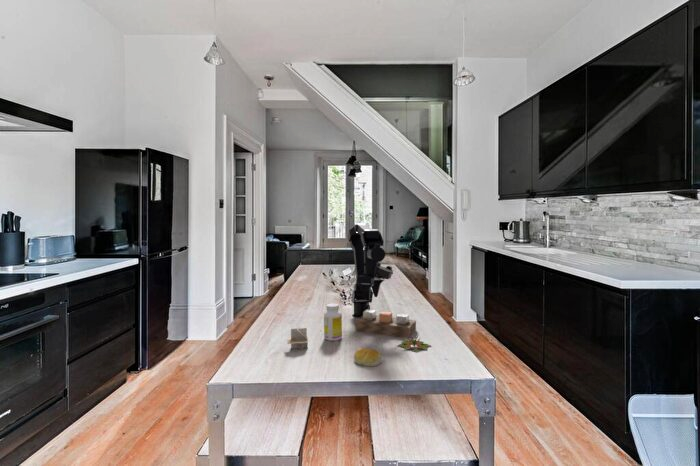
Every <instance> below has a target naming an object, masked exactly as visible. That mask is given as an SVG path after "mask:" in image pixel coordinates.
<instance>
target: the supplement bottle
mask: <svg viewBox="0 0 700 466" xmlns="http://www.w3.org/2000/svg"><path fill="white" fill-rule="evenodd" d="M325 308H326V311H324V313H323V333H324V334H323V336H324V339H325V340H326V341H330V342H331V341H332V342H336V341H339V340H341V339H342V337H343V333H342V331H343V329H342V328H343V322H342V320H343V319H342V317H343V316H342V311H340V310H339V308H340V305H339V304H338V303H328V304H326V307H325Z"/></svg>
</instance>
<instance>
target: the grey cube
mask: <svg viewBox="0 0 700 466" xmlns="http://www.w3.org/2000/svg"><path fill="white" fill-rule="evenodd" d="M376 315H377V310H376V309H375V310H374V309H370V310H368V309H367V310H365V311H364V312H363V319H364V320H372V321H373V320H374V319H376Z"/></svg>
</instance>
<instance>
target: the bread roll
mask: <svg viewBox="0 0 700 466" xmlns="http://www.w3.org/2000/svg"><path fill="white" fill-rule="evenodd" d="M353 355H354V356H353V359H354V362H355V363H356V364H357V365H360V366H365V367H377V366H378V365H379V364H381V363H382V361H383V356H382V353H381V352H379V351H378V350H376V349H369V348H366V347H365V348H360V349H358V350H356V351H355V353H354V354H353Z"/></svg>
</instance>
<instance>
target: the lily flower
mask: <svg viewBox="0 0 700 466" xmlns="http://www.w3.org/2000/svg"><path fill="white" fill-rule="evenodd" d="M408 336H409V335H408ZM412 336H413V335H411V336H410V337H409V338H408V340H403V341H402V343H400V344H397V345H396V346H397V347H401V348H404V349H403V350H404V351H406V350H412V351H413V352H415V353H418V352H419V351H420V350H421V349H423V350H426V351H428V348H427V347H432V345H431V344H427V343H424V341H422V340H421V337H420V338H419V339H418V337H419V335H417V333H416V335H415V336H414V337H412ZM417 339H418V340H417ZM420 340H421V341H420ZM414 348H415V349H414Z"/></svg>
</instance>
